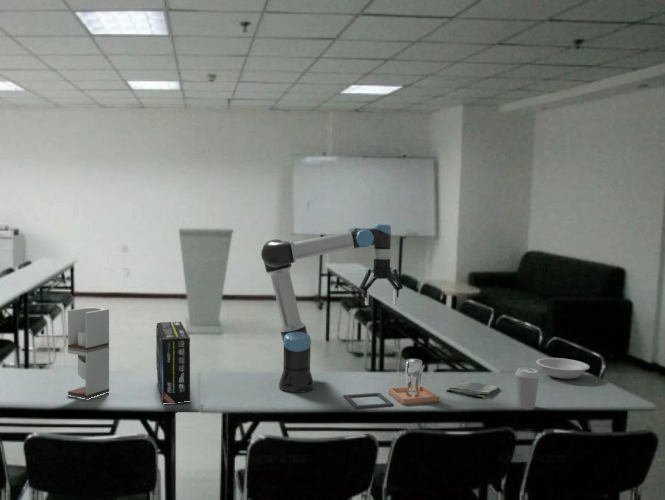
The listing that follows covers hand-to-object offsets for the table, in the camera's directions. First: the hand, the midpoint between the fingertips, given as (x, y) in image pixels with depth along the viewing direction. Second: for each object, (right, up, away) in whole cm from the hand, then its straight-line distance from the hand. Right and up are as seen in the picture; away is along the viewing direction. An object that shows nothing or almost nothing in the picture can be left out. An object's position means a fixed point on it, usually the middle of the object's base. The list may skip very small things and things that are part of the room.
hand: (380, 304), depth 287 cm
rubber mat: (-8, -37, -31) cm, 49 cm away
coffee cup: (+56, -38, -34) cm, 76 cm away
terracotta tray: (+12, -37, -25) cm, 46 cm away
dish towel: (+39, -37, -13) cm, 56 cm away
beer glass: (+11, -36, -25) cm, 46 cm away
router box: (-89, -35, -24) cm, 98 cm away
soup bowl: (+88, -36, +14) cm, 96 cm away
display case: (-121, -34, -30) cm, 130 cm away
